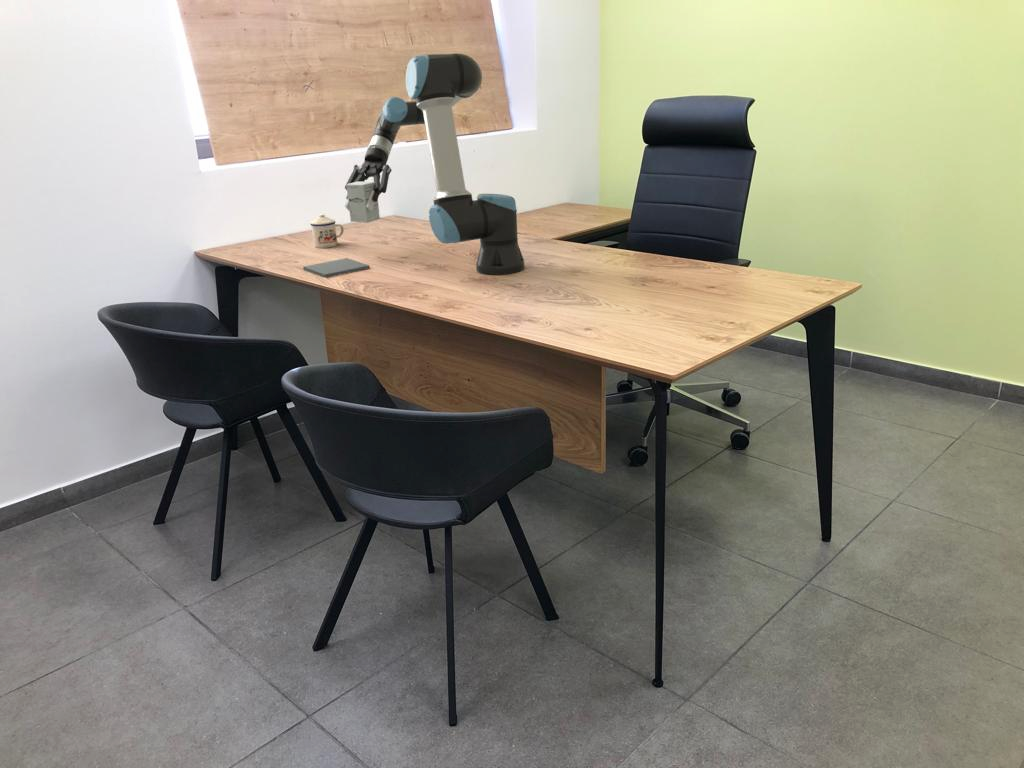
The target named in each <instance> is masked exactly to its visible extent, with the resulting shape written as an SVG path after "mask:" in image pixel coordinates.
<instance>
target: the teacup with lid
mask: <svg viewBox="0 0 1024 768" xmlns="http://www.w3.org/2000/svg"><path fill="white" fill-rule="evenodd" d="M318 216H319V217H317V218H315V219H313V220H312V221H310V226H311V232H312V240H313V246H314V247H315V248H318V249H326V248H327V249H329V248H332V247H335V246H338V238H340V237H342V236H343V234H344V232H345V231H344V226H343V225H342V224H340V223H336V220H335V219H333V218H330V217H328V216H326V215H325V213H321V214H318ZM336 227H340V230H341V231H340V233H339V234H338V235H337V228H336Z"/></svg>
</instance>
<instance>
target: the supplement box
mask: <svg viewBox="0 0 1024 768" xmlns="http://www.w3.org/2000/svg"><path fill="white" fill-rule="evenodd" d="M374 184H375V182H374V181H364V182H361V181H358V182H354V183H350V184H345V185H346V186H347V190H346V192H347V194H346V196H347V195H348V203H349V211H348V212H349V218H350V222H351V223H365V224H366V223H367V224H368V223H370V222H375V221H379V220H380V218H381V217H380V205H379V199H378V200H377V202H375V204H374V207H373V209H372V211H369V210H368V208H367V207H366V205H367V203H368V200H369V197H370V194H371V191H372V190H374ZM374 191H375V190H374Z"/></svg>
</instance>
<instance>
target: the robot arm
mask: <svg viewBox="0 0 1024 768" xmlns="http://www.w3.org/2000/svg"><path fill="white" fill-rule="evenodd" d="M404 80H405V89H406V91H405V92H406V93H407V96H408V98H409V99H412V100H413V101H405V100H404V99H403V98H400V97H398V96H393V97H392V96H391V97H390V98H388V99H387V101H386V102H385V104H384V105H383V107H382V111H381V113H380V115H379V117H378V119H377V121H376V125H375V128H374V130H373V134H372V136H371V139H370V142H369V144H368V146H367V150H366V153H365V155H364V162H363V163H362V164H361V165H357V164H354V165H353V170H352V172H351V174H350V176H349V178H348V180H347V182H346V184H350V183H354V182H358V181H361V182H366V181H367V180H368V179H369V178H373V182H375V184H374V190H375V191H374V190H372V191H371V194H370V197H369V200H368V203H367V205H366V207H367V208H368V210H369V211H372V209H373V207H374V204H375V202H377V200H378V201H379V197H380V195H381V194H382V193H383V194H385V193H387V189H388V182H389V177H390V174H391V173H392V168H391V167H390V166H389V164H387V163H388V160H389V156H390V154H391V151H392V148H393V145H394V143H395V140H396V137H397V134H398V133H399V130H400V128H401V127H402V126H404V127H405V126H414V125H415V126H417V125H425V126H424V127H425V131H426V138H427V143H428V148H429V155H430V158H431V159H430V160H431V161H430V162H431V167H432V171H433V177H434V182H435V189H436V195H435V196H434V198H433V199H432V200H433V205H432V206H430V208H429V211H428V214H429V215H428V219H429V220H428V221H429V225H430V227H431V231H432V232H433V235H434V236H435V237H436V239H437V240H438V241H439V242H440V243H443V244H446V245H447V244H459V243H462V242H469V241H474V240H479V241H480V247H479V251H478V255H477V260H476V264H475V267H476V272H478V273H480V274H484V275H507V274H508V275H509V274H515V273H518V272H521V271H523V270H524V269H525V260H524V258H523V257H524V256H523V254H522V252H521V251H522V250H521V248H520V245H519V241H518V239H519V237H518V220H517V219H518V218H517V217H518V215H517V214H518V213H517V212H518V210H517V205H516V203H517V202H516V200H515V198H514V197H513V196H511V195H507V194H502V193H501V194H500V193H479V194H477V197H476V200H475V199H474V200H473V196H472V193H471V192H470V191H469V190H467V188H466V183H465V178H464V171H463V167H462V161H461V155H460V150H459V142H458V136H457V131H456V124H455V118H454V112H453V107H454V106H455V105H457V104H458V103H459V102H460V101H461V100H463V99H468V98H470V97H472V96H473V95H474V94H476V92H478V90H479V89H480V88H481V85H482V83H483V82H482V81H483V73H482V69H481V68H480V66H479V64H478V62H477V61H476V60H475V59H474V58H472V57H471V56H469V55H467V54H464V53H440V54H432V53H431V54H427V53H426V54H422V55H415V56H412V57H411V58H410V59H409V61H408V64H407V66H406V71H405V79H404ZM381 173H382V174H381ZM346 184H345V186H344V189H345V191H347V186H346ZM345 198H346V202H345V205H344V207H345V209H346V210H347V211H348V212H350V211H349V203H348V195H347V194H346V197H345Z"/></svg>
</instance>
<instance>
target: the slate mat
mask: <svg viewBox="0 0 1024 768" xmlns="http://www.w3.org/2000/svg"><path fill="white" fill-rule="evenodd" d="M368 268H369V269H370V265H369V264H367V263H366V264H365V263H363V262H360V261H357V260H353V259H351V258H348V257H345V258H340V259H336V260H331V261H330V260H329V261H326V262H320V263H314V264H311V265H310V264H309V265H305V266H303V268H302V269H303V270H304V271H306V272H309V273H311V274H314V275H316V274H317V275H316V276H319V275H320V276H319V277H322V276H323V277H322V278H324V277H326V278H330V277H329V276H331V277H334V275H335V276H340V275H344V273H345V274H348V272H350V273H354V272H353V271H355V272H358V270H360V271H364V270H368ZM339 274H340V275H339Z"/></svg>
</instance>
